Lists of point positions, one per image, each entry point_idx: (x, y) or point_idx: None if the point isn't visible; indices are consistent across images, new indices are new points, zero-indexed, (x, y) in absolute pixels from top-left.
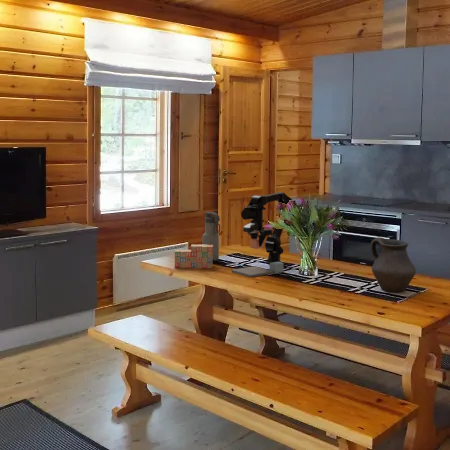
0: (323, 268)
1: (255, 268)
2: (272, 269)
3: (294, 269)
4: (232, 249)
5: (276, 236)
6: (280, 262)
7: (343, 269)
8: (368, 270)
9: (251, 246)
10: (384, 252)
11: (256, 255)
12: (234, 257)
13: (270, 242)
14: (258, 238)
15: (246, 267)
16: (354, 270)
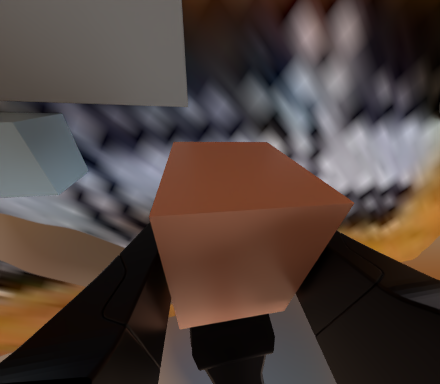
0: (75, 288)
1: (120, 58)
2: (15, 115)
3: (87, 229)
4: (411, 235)
5: (210, 378)
6: (23, 193)
7: (44, 311)
8: (17, 335)
9: (257, 146)
10: None
11: None
12: (376, 185)
13: None
14: (261, 301)
15: (182, 24)
16: (23, 321)
